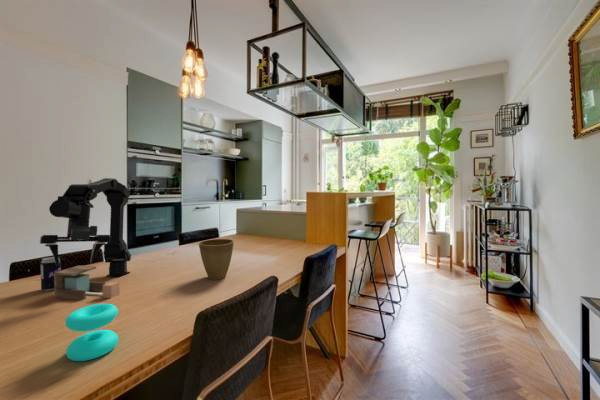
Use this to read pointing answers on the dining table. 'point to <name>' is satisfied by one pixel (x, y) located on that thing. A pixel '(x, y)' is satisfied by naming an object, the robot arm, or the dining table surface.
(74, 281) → the tethered block
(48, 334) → the dining table surface
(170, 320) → the dining table surface
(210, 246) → the plant pot
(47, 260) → the beverage can
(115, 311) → the donuts
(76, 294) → the shelf lane
